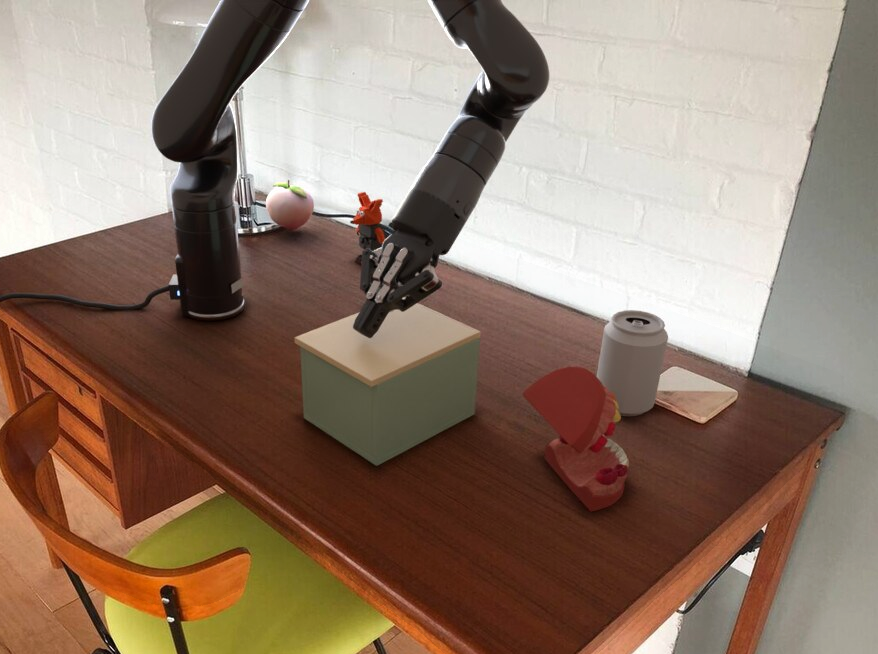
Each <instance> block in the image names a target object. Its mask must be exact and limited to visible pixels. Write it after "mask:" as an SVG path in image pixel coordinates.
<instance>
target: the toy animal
mask: <svg viewBox="0 0 878 654" xmlns="http://www.w3.org/2000/svg"><path fill="white" fill-rule="evenodd" d="M357 198H358V201H359V204H360V207H359V208H357V209H356V214H355V217H353V218H352V220H350V221H349V223H350V224H351V225H356V226H357V227H356V228H355V232H356V234H357V236H358V246H359V247H360V248H362V249H363V250H364V249H366V248H369V249H370V250H372V251H374V250H377V249H379V248H381V247H382V244H383V242H384V241H385V239H386V237H385V234H384V225H383V224H382V221H383V214H382V211H381V207H382V205H383V202H384V200H383V198H378V199H374V200H371V198H370V196H369V194H367V193H366V191H361V192H358V193H357ZM355 258H356V259H354V263H356V264H358V265H359V264H361V262H362V253H361V254H358V255H357V257H355Z"/></svg>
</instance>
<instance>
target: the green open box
mask: <svg viewBox="0 0 878 654" xmlns="http://www.w3.org/2000/svg"><path fill="white" fill-rule="evenodd" d="M299 347H300V348H299V349H300V351H299V352H300V370H301V387H302V410H303V419H305V420H306V421H308V422H309V423H311V424H312V425H314V426H315V427H317V428H318V429H320V430H321V431H323V432H324V433H325V434H327V435H328V436H330V437H332V438H333V439H335V440H336V441H338V442H339V443H341V444H343V446H345V447H347V448H348V449H350V450H351V451H353V452H354V453H356V454H358V455H359V456H360V457H362V458H364V459H365V460H367V461H368V462H370V463H371V464H373V465H374V466H376V467H377V466H380V465H381V464H383V463H385V462H387V461H389V460H391V459H393V458H395V457H396V456H399V455H400V454H402V453H404V452H406V451H408V450H410V449H411V448H414V447H415V446H417V445H420V444H421V443H423V442H425V441H427V440H429V439H431V438H433V437H435V436H437V435H438V434H441V433H442V432H444V431H446V430H448V429H449V428H452V427H454V426H455V425H457V424H459V423H461V422H462V421H465V420H466V419H468V418H470V417H472V416H474V415H475V414H476V402H477V401H476V400H477V387H478V373H479V360H480V347H481V337H480V338H477V339H475V340H473V341H471V342H469V343H466V344H464V345H462V346H460V347H458V348H455V349H453V350H451V351H449V352H447V353H445V354H442V355H440V356H438V357H436V358H434V359H431V360H429V361H427V362H425V363H423V364H421V365H418V366H416V367H414V368H412V369H410V370H407V371H405V372H403V373H401V374H399V375H397V376H394V377H392V378H390V379H388V380H386V381H383V382H381V383H379V384H377V385H375V386H373V387H371V386H369V385H367V384H366V383H364V382H362V381H360V380H359V379H357V378H355V377H353V376H352V375H350V374H348V373H346V372H345V371H343V370H341V369H339V368H338V367H336V366H334V365H332V364H331V363H329V362H327V361H325V360H324V359H322V358H320V357H318V356H317V355H315V354H313V353H311V352H310V351H308V350H306V349H304V348H303V347H301V346H299Z"/></svg>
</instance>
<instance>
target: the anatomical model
mask: <svg viewBox="0 0 878 654" xmlns="http://www.w3.org/2000/svg"><path fill="white" fill-rule="evenodd" d="M522 397H523V398H524V399H525V400H526V401H527V402H528V403H529V404H530V405H531V406H532V407H533V409H535V411H537V412H538V414H539V415H541V417H542V419H544V421H546V422H547V423H548V424H549V425H550V426H551V428H553V430H554V431H556V432H557V434H558V435H559V437H558V438H555V439H553V440H552V441H551V442H549V443H548V444H546V445H545V449H544V457H543V458H544V460H545V461H546V462H547V463H548V465H549V466H550V467H551V468H552V470H553V471H554V472H555V473H556V475H558V477H559V478H560V479H561V480H562V481H563V483H564V484H565V485H566V486H567V487H568V488H569V490H571V492H572V493H573V494H574V496H576V497H577V499H579V501H580V502H581V503H582V504H583V505H584V506H585V507H586V509H588V511H589V512H590V513H592V512H597V511H600V510H603V509H606V508H608V507H610V506H612V505H614V504H615V503H616V502H618V501H619V500H620V499H621V497H622V496H623V494H624V490H625V484H626V483H625V481H626V479H627V477H628V471H629V470H628V468H629V466H630V460H629V458H627V457H628V456H627V454H626V453H625V450H624V449H623V448H622V447H621V446H620V445H619V444H618V443H616V442H615V441H613V440H612V439H610V438H608V437H610V436H613V434H614V431H615V430H616V423H618V422H620V421H621V419H622V416H620V414H619V412H618V408H619V406H618V404H617V402H616V399H615V397H614V395H613V393H611V392H610V391H608V390H607V389H606V387H605V386H603V384H602V382H601V381H600V380H599V379H598V378H597V375H596V374H595V373H593V372H592V371H591V370H589V369H587V368H585V367H582V366H566V367H562V368H558V369H555V370H553V371H551V372H549V373H546V374H545V375H543V376H542V377H540V378H538V379H537V380H536V381H535V382H533V383H532V384H531V385H530V386H529V387H527V389H525V390H524V391H523V392H522ZM606 436H607V437H606Z"/></svg>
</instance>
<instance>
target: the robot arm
mask: <svg viewBox="0 0 878 654" xmlns="http://www.w3.org/2000/svg"><path fill="white" fill-rule="evenodd" d="M309 2H310V0H220V1H219V2H218V4H217V6H216V8H215V9H214V12H213V13H212V15H211V17H210V19H209V20H208V23H207V25H206V26H205V28H204V30H203V32H202V34H201V36H200V38H199V40H198V42H197V43H196V46H195V48H194V50H193V52H192V54H191V55H190V57H189V59H188V60H187V61H186V64H185V65H184V66H183V68H182V69H181V71H179V74H177V76H176V78H175V79H174V81H173V82H172V83H171V84H170V86H169V87H168V88H167V90H166V91H165V92H164V94H163V96H162V97H161V98H160V99H159V101H158V103H157V104H156V106H155V108H154V110H153V112H152V116H151V122H150V132H151V137H152V141H153V144H154V146H155V148H156V149H157V151H158V153H160V155H162V156H163V157H164V158H165V159H167V160H169V161H171V162H173V163H179V166H178V170H177V173H176V176H175V177H174V179H173V180H172V182H171V183H170V187H169V195H170V201H171V202H170V203H171V209H172V211H171V212H172V220H173V225H174V235H175V242H176V252H177V254H176V256H175V260H174V263H175V270H176V274H172V276H171V278H170V281H169V283H168V285H165V286H163V287H162V286H161V287H159V288H157V289H155V290H153V291H151V292H150V293H148V294H147V296H146V297H145V300H144V301H143V302H140V303H137V304H130V305H120V304H112V303H106V302H105V303H104V302H97V301H87V300H82V299H77V298H74V297H72V296H71V297H70V296H67V295H63V294H62V295H61V294H51V293H50V294H49V293H48V294H47V293H44V294H43V293H32V292H12V293H11V292H10V293H6V294H3V295H0V303H2V302H4V301H7V300H13V299H31V300H32V299H34V300H47V301H49V300H50V301H51V300H52V301H61V302H66V303H70V304H74V305H77V306H81V307H87V308H94V309H95V308H96V309H102V310H103V309H104V310H109V311H132V310H134V311H135V310H141V309H143V308H146V307H147V306H149V305H150V303H151V302H152V301H153V298H155V297H156V296H159V295H161V294H164V293H167V292H169V299H170V300H171V301H173V300H177V301H179V302H180V310H181V317H182V318H191V319H193V320H197V321H204V322H215V321H223V320H228V319H230V318H233V317H236V316H238V315H239V314H241V313H242V312H243V311H244V309H245V298H244V292H243V291H244V290H243V287H244V285H243V284H244V283H243V276H242V267H241V257H240V256H241V255H240V244H239V231H238V221H237V219H238V218H237V208H236V207H237V206H236V195H235V189H236V186H237V182H238V177H239V163H238V162H239V161H238V160H239V159H238V138H237V124H236V119H235V114H234V111H233V108H232V106H231V104H230V103H231V102H232V100H233V98H234V97H235V95H236V94H237V93H238V91H239V90H240V88H241V87H242V86H243V85H244V84H245V83H246V82H247V80H249V79H250V78H251V77H252V76H253V75H254V74H255V72H257V70H259V69H260V68H261V67H262V66H263V64H265V62H266V61H267V60H268V59H270V57H272V55H273V54H274V53H275V52H276V50H277V49H278V48H279V47H280V46H281V45H282V44H283V42H284V41H285V40H286V38H287V37H288V35H289V34H290V33H291V31H292V30H293V28H294V26H295V25H296V23H297V21H298V20H299V18H300V16H301V15H302V13H303V12H304V10H305V9H306V7H307V5H308V4H309ZM427 2H428V4H429V5H430V8H431V10H432V11H433V13H434V15H435V16H436V18H437V20H438V21H439V23H440V25H441V27H442V28H443V29H444V32H445V33H446V35H447V36H448V39H450V41H451V42H452V44H453V45H454V46H456V48H458V49H462V50H463V49H467V50H468V51H469V52H470V53H471V55H472V56H473V57H474V59H475V61H477V64H479V66H480V67H481V69H482V70H481V72H480V73H479V75H478V77H477V78H476V79H475V81H474V83H473V85H472V87H471V88H470V91H469V93H468V95H467V96H466V98H465V101H464V103H463V105H462V106H461V108H460V110H459V113H458V116H457V118H456V119H455V120H454V122H453V123H452V124H451V125H450V126H449V128H448V129H447V131H446V132H445V134H444V136H443V137H442V139H441V141H440V142H439V144H438V146H437V147H436V148H435V151H434V152H433V154H432V155H431V157H430V159H429V160H427V162H426V163H425V164H424V165H423V167H422V168H421V170H420V172H419V173H418V174H417V177H416V178H415V180H414V181H413V183H412V184H411V186H410V188H409V190H408V191H407V193H406V195H405V197H404V198H403V200H402V201H401V203H400V204H399V207H398V208H397V210H396V211H395V213H394V215H393V216H392V218H391V225H392V227H393V228H392V231H391V233H390V234H389V236H387V238H385V241H384V242H383V244H382V247H381V248H379V249H377V250H374V251H372V250H370V249H369V248H366V249H363V250H362V252H361V254H362V262H361V263H360V264H361V265H360V268H361V269H360V281H359V282H360V283H359V289H360V290H361V291H362V292H363V293H364V295H365V297H366V300H365V302H364V304H363V305H362V307H361V309H360V310H359V312H358V313H359V314H358V316H357V317H356V319H355V322H354V325H353V329H354V330H356V331H357V332H359V333H360V334H362V335H364V336H366V337H368V338H372V337H373V335H374V334H375V333H376V332H377V331H378V330H379V328H380V326H381V324H382V323H383V321H384V320H385V318H386V316H387V315H388V313H389V312H393V311H394V310H400V311H401V312H404V311H406V310H407V309H409V308H410V307H412V306H413V305H415V304H417V303H418V304H419V302H421V301H423V300H424V299H426V298H428V297H429V296H430V295H432V294H434V293H435V292H436V291H438V290H441V288H442V286H443V281H442V280H441V279H440V278H439V277H438V276H437V273H436V270H435V269H436V267H437V266H438V264H439V260H440V256H445V255H447V254H448V253H449V252H450V250H451V249H452V247H453V245H454V244H455V242H456V240H457V239H458V237H459V235H460V233H461V232H462V230H463V228H464V226H465V225H466V223H467V221H468V220H469V219H470V216H471V215H472V214H473V211H474V210H475V208H476V206H477V205H478V203H479V200H480V199H481V196H482V193H483V191H484V188H485V187H486V185H487V184H488V182H489V180H490V179H491V177H492V176H493V173H494V172H495V170H496V169H497V168H498V166H499V164H500V162H501V159H502V158H503V156H504V153H505V150H506V142H507V141H508V140H509V138H510V136H511V134H512V133H513V131H514V130H515V128H516V126H517V125H518V123H519V122H520V120H521V119H522V117H523V116H524V115H525V113H526V112H527V111H528V110H529V109H530V108H531V107H532V106H533V105H535V104H536V103H537V102H538V101H539V100H540V99H541V98H542V97H543V96H544V94H545V92H546V91H547V89H548V86H549V84H550V83H549V82H550V66H549V63H548V60H547V57H546V55H545V53H544V50H543V49H542V47H541V46H540V44H539V42H538V41H537V40H536V38H535V37H534V36H533V34H531V33H530V31H529V30H528V29H527V28H526V26H525V25H523V23H522V22H521V21H520V20H519V19H518V17H516V15H514V14H513V12H511V10H509V8H508V7H506V5H505V4H504V2H503V1H502V0H427ZM382 286H383V287H382ZM381 287H382V288H381ZM407 296H408V297H407ZM403 297H405V299H404V300H403V299H402V298H403ZM406 297H407V298H406Z"/></svg>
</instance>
